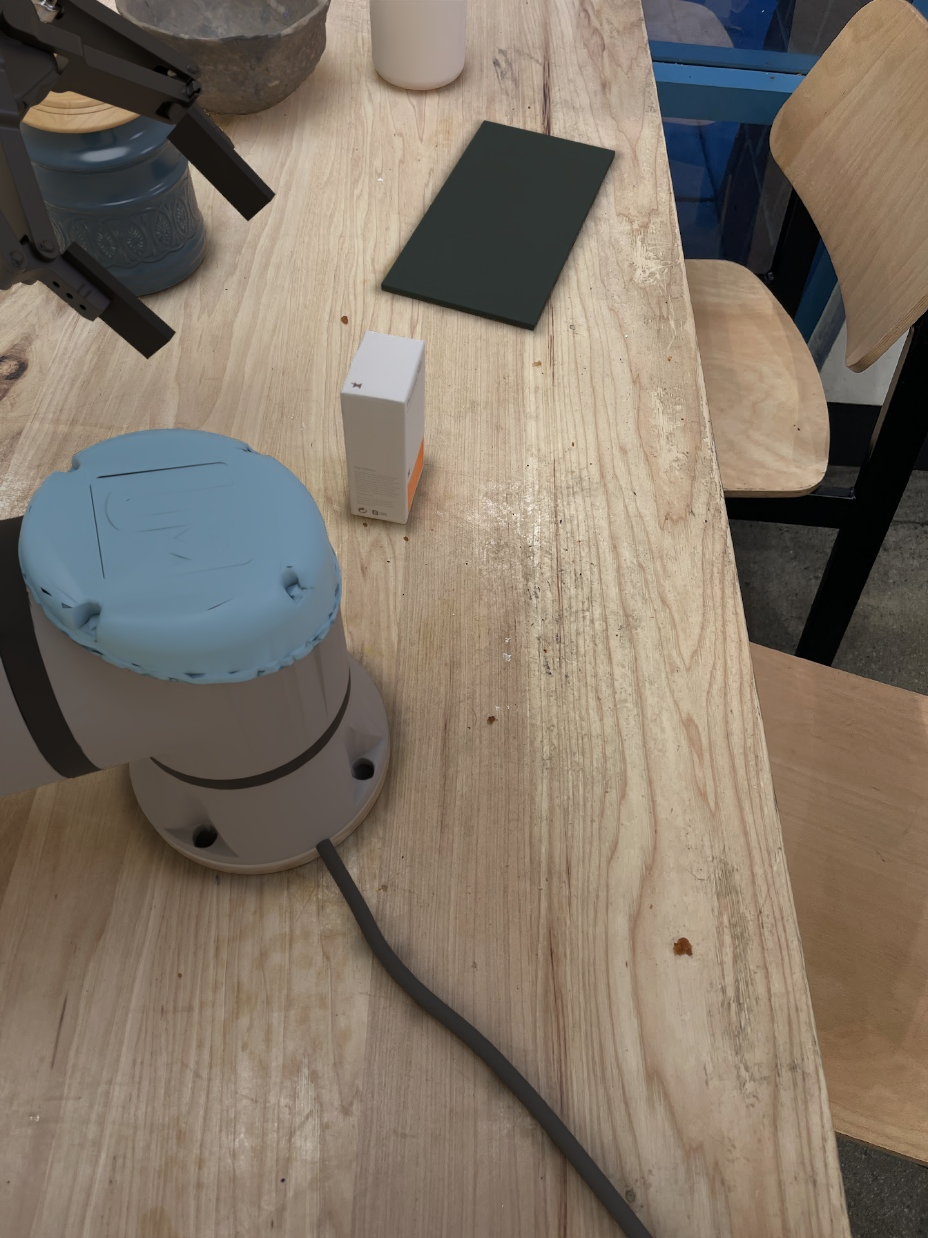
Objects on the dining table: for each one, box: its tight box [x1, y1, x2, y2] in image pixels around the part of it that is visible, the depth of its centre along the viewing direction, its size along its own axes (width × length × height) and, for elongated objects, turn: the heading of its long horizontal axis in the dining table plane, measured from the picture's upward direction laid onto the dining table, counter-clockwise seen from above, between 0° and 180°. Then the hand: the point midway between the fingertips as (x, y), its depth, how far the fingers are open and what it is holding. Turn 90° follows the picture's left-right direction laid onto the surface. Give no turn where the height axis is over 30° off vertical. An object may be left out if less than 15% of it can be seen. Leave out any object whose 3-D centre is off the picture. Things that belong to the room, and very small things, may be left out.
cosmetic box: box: [339, 329, 426, 525], centre depth 60 cm, size 6×4×12 cm
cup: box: [368, 0, 468, 91], centre depth 92 cm, size 10×10×10 cm
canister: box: [20, 53, 207, 297], centre depth 71 cm, size 13×13×18 cm
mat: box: [380, 119, 616, 331], centre depth 83 cm, size 28×14×1 cm, turn 161°
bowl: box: [114, 0, 332, 116], centre depth 89 cm, size 21×21×10 cm
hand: (215, 273), depth 53 cm, fingers open, 13 cm apart
